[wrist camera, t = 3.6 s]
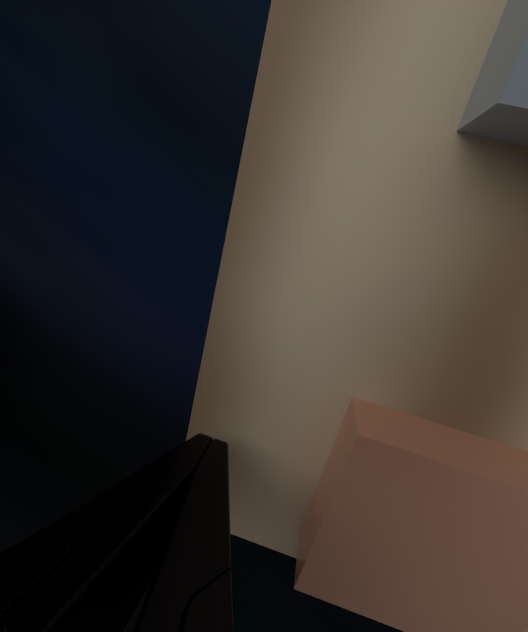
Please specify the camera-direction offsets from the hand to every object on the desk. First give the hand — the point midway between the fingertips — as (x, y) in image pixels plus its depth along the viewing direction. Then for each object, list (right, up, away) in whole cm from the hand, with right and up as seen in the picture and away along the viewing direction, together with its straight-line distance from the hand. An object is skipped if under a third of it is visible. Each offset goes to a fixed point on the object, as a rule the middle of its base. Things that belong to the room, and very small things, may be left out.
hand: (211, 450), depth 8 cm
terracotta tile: (+5, -1, 0) cm, 6 cm away
